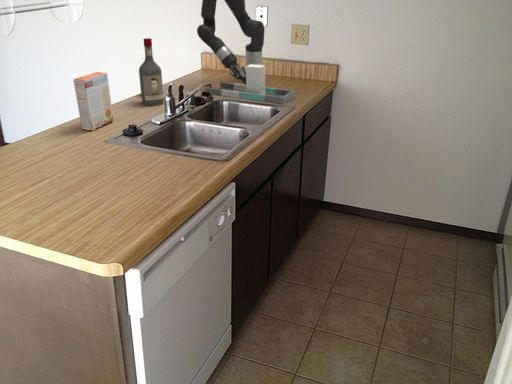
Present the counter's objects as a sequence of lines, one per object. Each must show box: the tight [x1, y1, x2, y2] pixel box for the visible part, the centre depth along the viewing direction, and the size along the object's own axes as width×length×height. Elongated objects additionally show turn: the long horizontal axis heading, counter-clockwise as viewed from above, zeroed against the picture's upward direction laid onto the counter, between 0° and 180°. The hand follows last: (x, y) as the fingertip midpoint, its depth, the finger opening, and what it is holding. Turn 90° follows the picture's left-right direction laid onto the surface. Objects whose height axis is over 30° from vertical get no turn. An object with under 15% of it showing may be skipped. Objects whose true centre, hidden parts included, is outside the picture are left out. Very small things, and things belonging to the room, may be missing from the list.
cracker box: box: [73, 71, 114, 129], centre depth 193 cm, size 14×6×21 cm, turn 157°
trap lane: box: [207, 81, 295, 105], centre depth 244 cm, size 15×42×3 cm, turn 66°
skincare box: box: [245, 64, 266, 95], centre depth 240 cm, size 8×7×16 cm
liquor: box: [138, 37, 165, 106], centre depth 222 cm, size 9×9×30 cm
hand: (247, 83), depth 243 cm, fingers closed
